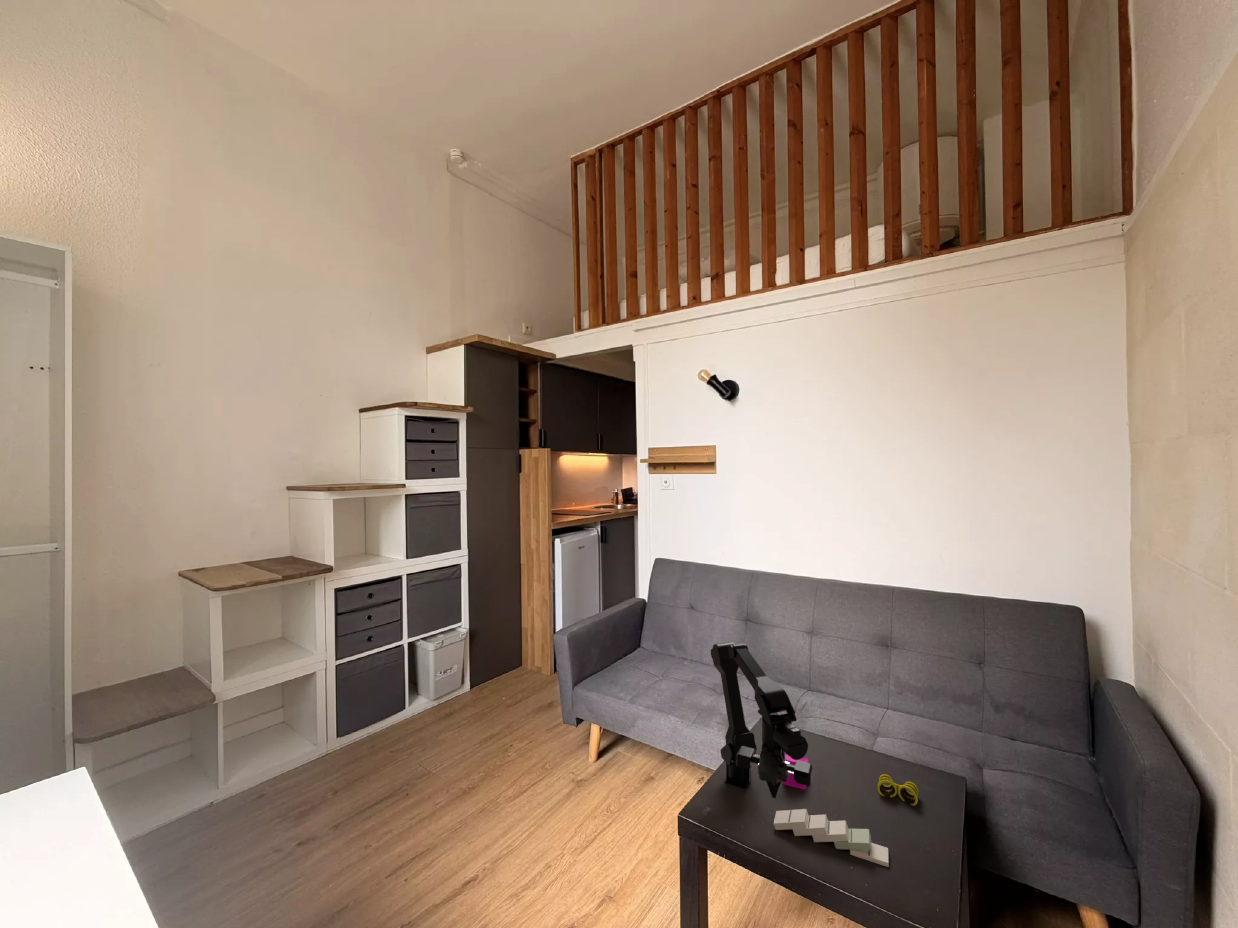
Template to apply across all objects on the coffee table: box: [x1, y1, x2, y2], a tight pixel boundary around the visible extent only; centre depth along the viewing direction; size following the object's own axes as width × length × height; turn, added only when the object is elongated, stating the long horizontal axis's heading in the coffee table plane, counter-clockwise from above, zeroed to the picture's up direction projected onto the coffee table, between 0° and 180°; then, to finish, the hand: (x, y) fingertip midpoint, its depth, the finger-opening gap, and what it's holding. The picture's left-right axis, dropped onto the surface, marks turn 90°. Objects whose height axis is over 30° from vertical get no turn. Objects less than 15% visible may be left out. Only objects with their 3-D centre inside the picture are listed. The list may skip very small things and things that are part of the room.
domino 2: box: [792, 814, 829, 837], centre depth 123 cm, size 2×5×8 cm
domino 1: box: [773, 808, 809, 831], centre depth 125 cm, size 2×5×8 cm
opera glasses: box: [877, 774, 919, 807], centre depth 136 cm, size 10×5×5 cm, turn 56°
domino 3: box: [811, 819, 849, 843], centre depth 121 cm, size 2×5×8 cm
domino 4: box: [849, 842, 890, 868], centre depth 117 cm, size 2×5×8 cm
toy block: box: [781, 754, 809, 791], centre depth 148 cm, size 15×6×8 cm, turn 154°
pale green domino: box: [833, 828, 872, 850], centre depth 119 cm, size 2×5×8 cm
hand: (774, 797), depth 127 cm, fingers closed
